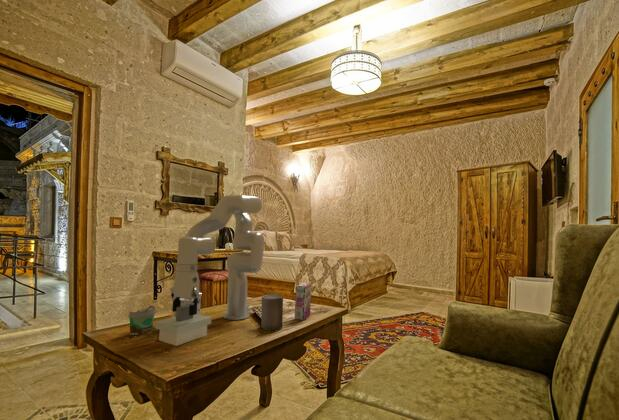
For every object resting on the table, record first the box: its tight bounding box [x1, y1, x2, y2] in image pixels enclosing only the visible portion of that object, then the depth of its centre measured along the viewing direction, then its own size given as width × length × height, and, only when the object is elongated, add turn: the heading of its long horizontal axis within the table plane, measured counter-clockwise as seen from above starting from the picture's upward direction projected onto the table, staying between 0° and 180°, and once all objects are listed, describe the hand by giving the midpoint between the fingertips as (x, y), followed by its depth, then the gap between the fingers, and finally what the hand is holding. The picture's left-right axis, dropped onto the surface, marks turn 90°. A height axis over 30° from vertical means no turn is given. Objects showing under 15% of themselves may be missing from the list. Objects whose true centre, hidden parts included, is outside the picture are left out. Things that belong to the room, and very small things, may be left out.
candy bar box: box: [294, 282, 312, 321], centre depth 160 cm, size 11×5×16 cm, turn 162°
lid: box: [155, 304, 213, 334], centre depth 123 cm, size 16×12×8 cm
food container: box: [128, 305, 157, 336], centre depth 129 cm, size 12×6×10 cm, turn 168°
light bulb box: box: [173, 297, 202, 317], centre depth 149 cm, size 11×7×11 cm, turn 162°
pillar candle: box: [260, 293, 284, 331], centre depth 142 cm, size 10×10×15 cm
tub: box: [158, 325, 208, 347], centre depth 123 cm, size 14×10×7 cm
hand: (184, 312), depth 123 cm, fingers open, 9 cm apart
